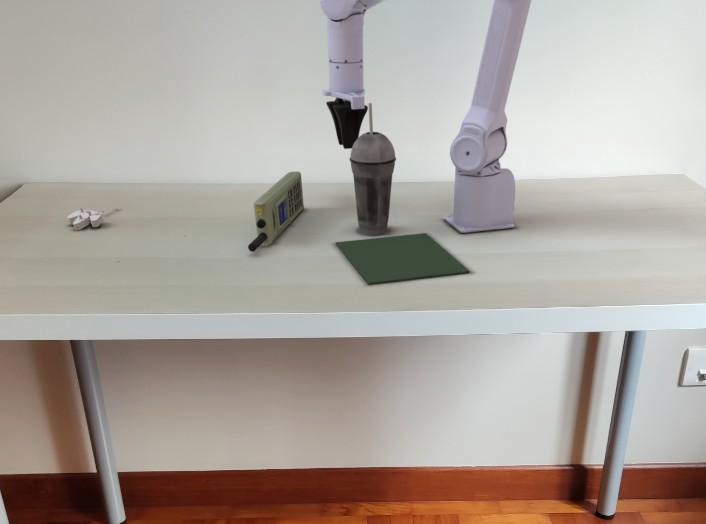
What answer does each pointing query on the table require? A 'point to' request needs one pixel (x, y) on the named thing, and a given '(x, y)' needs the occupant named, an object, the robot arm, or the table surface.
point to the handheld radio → (277, 209)
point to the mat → (400, 258)
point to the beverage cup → (372, 179)
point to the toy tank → (85, 218)
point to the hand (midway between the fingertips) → (347, 146)
